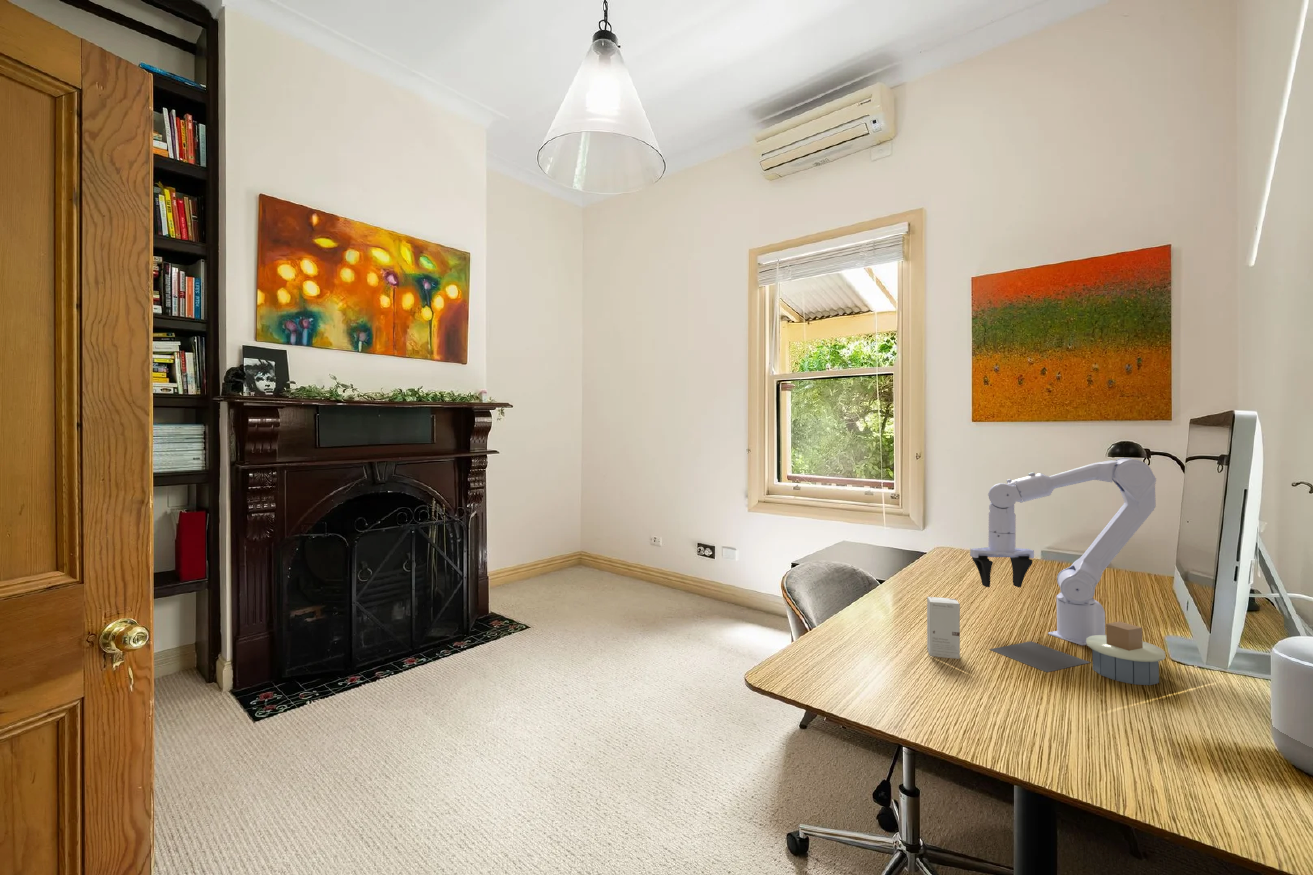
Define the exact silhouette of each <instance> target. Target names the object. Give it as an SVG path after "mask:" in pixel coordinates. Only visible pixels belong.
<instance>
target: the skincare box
mask: <svg viewBox="0 0 1313 875" xmlns="http://www.w3.org/2000/svg"><path fill="white" fill-rule="evenodd" d="M926 603H927V604H926V605H927V606H926V635H927V636H926V640H927V641H926V646H927V647H926V649H927V652H928V654H929V656H930V657H934V658H935V657H938V658H945V659H947V658H948V659H959V660H960V658H961V653H960V650H961V637H960V636H961V634H960V633H961V630H960V629H961V627H960V626H961V621H960V620H961V618H960V617H961V605H960V603H959V601H958V600H957V599H956V598H948V597H935V596H927V597H926Z"/></svg>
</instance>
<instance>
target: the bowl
mask: <svg viewBox="0 0 1313 875" xmlns="http://www.w3.org/2000/svg"><path fill="white" fill-rule="evenodd" d="M1091 650H1092V652H1091V654H1092V670H1093V671H1094V672H1096V673H1097V674H1099V675H1100V676H1103V677H1105V678H1108V679H1110V680H1113V681H1116V682H1121V683H1124V684H1131V685H1136V686H1137V685H1141V686H1142V685H1143V686H1152V685H1157V684H1159V683H1160V670H1159V669H1160V666H1159V664H1160V661H1157V662H1140V661H1132V660H1125V659H1120V658H1116V657H1112V656H1108V655H1105V654H1102V653H1099V652H1097V651H1095V650H1093V649H1091Z"/></svg>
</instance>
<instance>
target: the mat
mask: <svg viewBox="0 0 1313 875" xmlns="http://www.w3.org/2000/svg"><path fill="white" fill-rule="evenodd" d="M988 650H989V651H990V652H991V651H992V652H994V653H997V654H998V655H1002V656H1005V657H1007V658H1008V659H1009V658H1010V659H1012V660H1013V661H1014V660H1015V661H1016V662H1019V663H1022V664H1024V665H1027V666H1029V667H1033V668H1035V669H1037V670H1039V671H1042V672H1043V673H1050V672H1055V671H1060V670H1065V669H1068V668H1074V667H1078V666H1082V665H1087V664H1091V663H1092V662H1091V661H1088V660H1087V659H1082V658H1079V657H1077V656H1073V655H1071V654H1069V653H1067V652H1066V653H1065V652H1062V651H1060V650H1058V649H1054V648H1052V647H1049V646H1046V645H1044V644H1040V643H1037V642H1034V641H1031V640H1030V641H1024V642H1020V643H1014V644H1010V645H1004V646H999V647H994V648H989V649H988Z"/></svg>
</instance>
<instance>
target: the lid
mask: <svg viewBox="0 0 1313 875" xmlns="http://www.w3.org/2000/svg"><path fill="white" fill-rule="evenodd" d="M1086 644H1087V645H1086V646H1087V647H1088V648H1089V649H1091V650H1092V649H1093V650H1095V651H1097V652H1099V653H1102V654H1105V655H1108V656H1112V657H1116V658H1120V659H1125V660H1132V661H1140V662H1157V661H1159V662H1161V661H1164V660H1165V659H1166V651H1165V650H1164V649H1163V648H1161V647H1159V646H1157V645H1156V644H1153V643H1149V642H1147V641H1143V627H1142V626H1137V625H1133V624H1130V623H1127V622H1124V621H1120V620H1119V621H1114V622H1109V623H1105V635H1094V636H1090V637H1088V638H1087V639H1086Z"/></svg>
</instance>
